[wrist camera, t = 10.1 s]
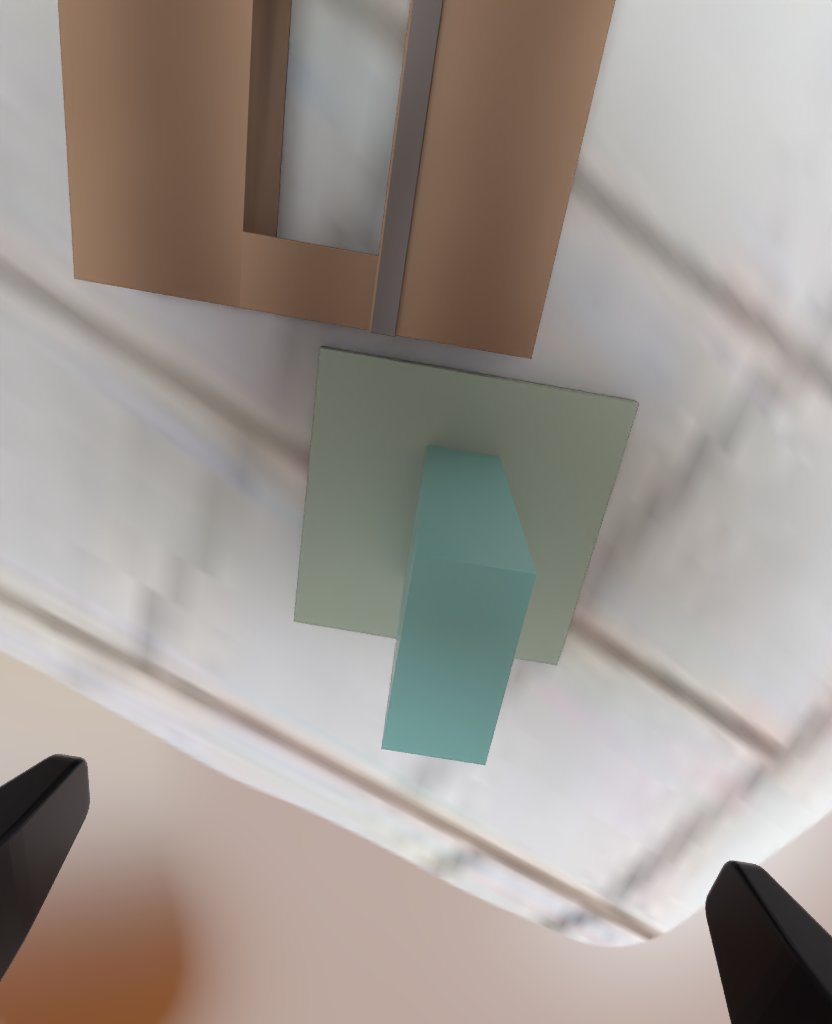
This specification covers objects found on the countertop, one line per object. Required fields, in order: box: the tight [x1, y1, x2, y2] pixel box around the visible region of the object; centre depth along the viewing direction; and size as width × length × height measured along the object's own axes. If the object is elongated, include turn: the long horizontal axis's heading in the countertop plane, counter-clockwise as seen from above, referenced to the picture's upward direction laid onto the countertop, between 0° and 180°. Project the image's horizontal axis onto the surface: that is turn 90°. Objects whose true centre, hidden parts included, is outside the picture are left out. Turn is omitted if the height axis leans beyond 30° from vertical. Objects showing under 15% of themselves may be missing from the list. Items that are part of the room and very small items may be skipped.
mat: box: [294, 346, 639, 665], centre depth 20 cm, size 10×10×1 cm
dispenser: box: [58, 0, 615, 359], centre depth 14 cm, size 12×10×3 cm
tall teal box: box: [381, 445, 536, 765], centre depth 16 cm, size 2×5×8 cm, turn 171°
